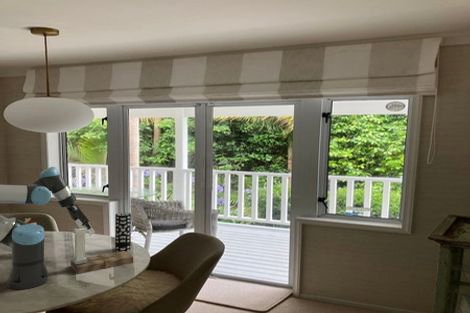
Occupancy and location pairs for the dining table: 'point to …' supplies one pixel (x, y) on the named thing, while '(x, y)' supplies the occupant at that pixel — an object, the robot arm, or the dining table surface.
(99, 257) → the fader console
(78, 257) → the fader knob
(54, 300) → the dining table surface
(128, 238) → the spotted tube
